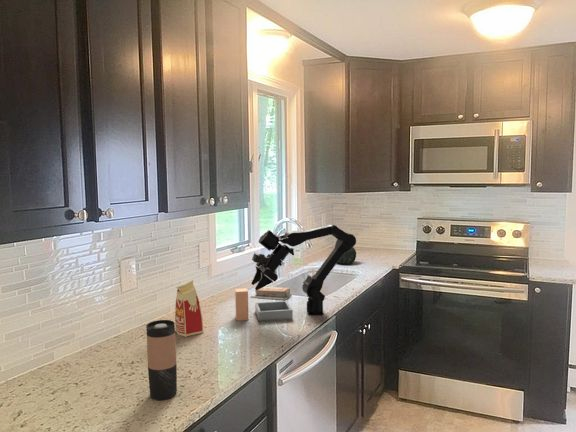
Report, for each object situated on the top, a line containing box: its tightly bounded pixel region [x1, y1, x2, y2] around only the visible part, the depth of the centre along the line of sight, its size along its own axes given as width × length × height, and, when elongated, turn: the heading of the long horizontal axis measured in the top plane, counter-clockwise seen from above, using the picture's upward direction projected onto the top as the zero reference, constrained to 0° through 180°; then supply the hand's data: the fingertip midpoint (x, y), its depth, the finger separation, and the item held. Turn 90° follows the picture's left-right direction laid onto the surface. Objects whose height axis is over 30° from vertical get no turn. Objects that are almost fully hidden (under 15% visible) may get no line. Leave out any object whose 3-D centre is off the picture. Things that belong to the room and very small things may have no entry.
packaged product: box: [250, 285, 293, 301], centre depth 231 cm, size 18×5×10 cm
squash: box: [337, 246, 357, 266], centre depth 307 cm, size 14×15×15 cm
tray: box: [254, 300, 294, 323], centre depth 200 cm, size 14×14×4 cm
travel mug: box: [145, 319, 178, 401], centre depth 129 cm, size 8×8×20 cm
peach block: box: [234, 287, 250, 321], centre depth 196 cm, size 5×5×12 cm
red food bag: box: [174, 279, 205, 337], centre depth 180 cm, size 9×9×20 cm
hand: (253, 287), depth 195 cm, fingers open, 9 cm apart
